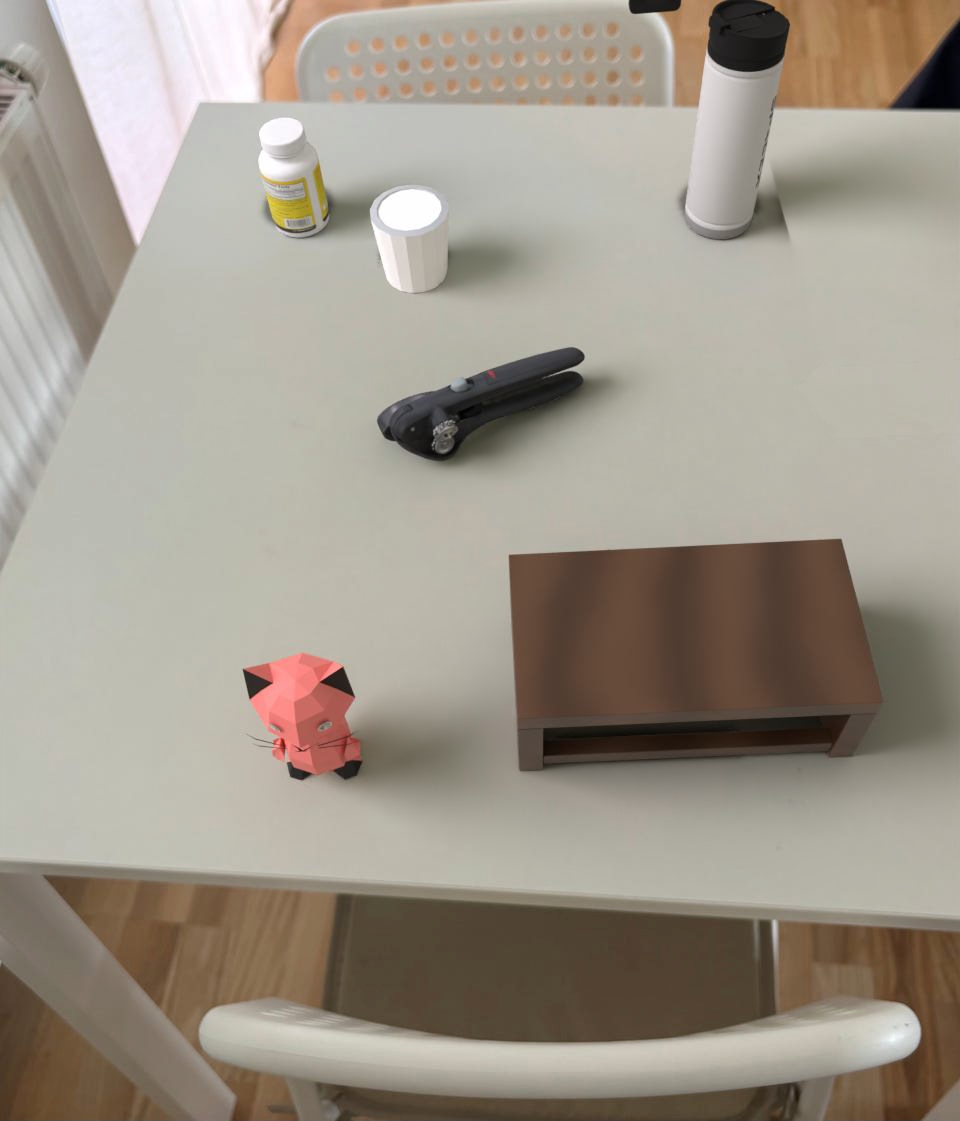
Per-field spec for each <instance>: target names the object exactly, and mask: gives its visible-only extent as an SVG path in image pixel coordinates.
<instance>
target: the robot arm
mask: <svg viewBox="0 0 960 1121" xmlns="http://www.w3.org/2000/svg"><path fill="white" fill-rule="evenodd" d="M681 6H682V0H628V9H629V12H630V13H631V14H632V15H643V14H655V13H656V14H657V13H667V12H676V11H678V10H680V8H681Z"/></svg>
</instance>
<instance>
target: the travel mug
mask: <svg viewBox="0 0 960 1121" xmlns="http://www.w3.org/2000/svg"><path fill="white" fill-rule="evenodd" d="M707 24H708V27H709V32H708V40H707V45H706V49H705V57H704V63H703V64H704V65H703V71H702V80H701V86H700V94H699V100H698V109H697V116H696V124H695V131H694V139H693V145H692V153H691V160H690V167H689V174H688V175H689V176H688V182H687V183H688V184H687V189H686V190H687V191H686V197H685V198H686V199H685V206H684V212H685V218H684V220H685V219H686V221H685V223H686V222H687V223H688V224H687V223H686V224H687V226H688V225H689V226H690V227H689V226H688V227H689V228H690V229H691V228H692V229H691V231H692V232H694V231H695V232H694V233H696V234H697V233H698V234H697V235H699V234H700V235H699V236H702V235H703V236H702V237H704V236H705V237H704V238H707V239H713V240H726V239H728V240H729V239H732V238H735V237H739V236H740V235H743V233H745V232H746V231H747V230H748V229H749V228H750V227H751V225H752V222H753V217H754V213H755V207H756V203H757V198H758V192H759V187H760V184H761V183H760V182H761V178H762V173H763V167H764V162H765V157H766V152H767V147H768V142H769V136H770V131H771V126H772V122H773V118H774V112H775V108H776V107H775V106H776V101H777V97H778V91H779V86H780V82H781V76H782V72H783V66H784V61H785V56H786V48H787V42H788V37H789V32H790V27H791V23H790V21H789V19H788V18H787V17H786V16H785V15H784V14H783V13H781V12H780V11H779V10H776V6H774V5H772V4H770V3H768V2H765V1H762V0H723V1H721V2H718V3H717V4H716V5H714V7H713V9H712V10H711V15H709V18H708V23H707Z"/></svg>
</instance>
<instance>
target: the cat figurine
mask: <svg viewBox="0 0 960 1121" xmlns="http://www.w3.org/2000/svg"><path fill="white" fill-rule="evenodd" d="M242 673H243V678H244V681H245V686H246V691H247V696H248V700H249V701H250V703H251V705H252V706H253V709H254V710H255V711H256V713H257V714H258V716H259V718H260V719H261V721H262V723H263V724H264V726H265V728H266V729H267V731H268V732H269V733H271V734H273V735H275V736H277V737H278V738H275V739H273V741H272V742H271V741H267V740H264V739H259V738H255V737H253V736H252V735H250V734H247V733H245V732H244V734H246V735H247V736H248V737H250V738H251V739H254V740H255V741H259V742H264V743H268V744H272V745H273V746H268V745H258V744H256V743H254V745H255V746H257V747H261V748H270V749H271V748H272V750H271V753H272V757H273V758H276V760H279V761H281V762H283V763H285V756H286V753H287V756H288V760H287V761H286V765H287V769H288V773H289V777H290V778H292V779H295V780H299V781H303V780H305V779H306V778H308V777H309V776H310V775H312V774H314V775H316V776H319V775H323V774H326V773H328V772H331V771H332V772H334V773H335V774H336V775H338V776H339V777H340V778H341V779H343V780H348V779H351V778H354V777H356V776H358V774H359V771H360V769H361V766H362V764H363V759H362V756H361V744H362V743H361V742H360V739H358V738H356V737H353V736H352V735H354V734H355V733H357V732H358V730H356V731H354V732H351V729H350V726H349V723H348V722H347V718H346V714H347V712H348V710H349V709H350V707H351V705H352V704H353V702H354V701H355V699H356V695H355V693H354V690H353V687H352V685H351V682H350V680H349V677H348V675H347V674H348V673H347V672H346V669H345V666H344V665H342V664H340V663H338V662H336V661H334V660H330V659H326V658H322V657H319V656H315V655H312V654H308V653H305V652H300V653H297V654H294V655H290V656H287V657H285V658H281V659H278V660H275V661H271V662H268V663H263V664H259V665H254V666H250V667H249V666H248V667H244V668H242Z"/></svg>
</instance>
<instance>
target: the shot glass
mask: <svg viewBox="0 0 960 1121" xmlns="http://www.w3.org/2000/svg"><path fill="white" fill-rule="evenodd" d="M369 215H370V217H369V218H370V222H371V225H372V229H373V233H374V238H375V242H376V245H377V248H378V251H379V255H380V258H381V263H382V266H383V270H384V274H385V277H386V280H387V282H388V283H389V284H390V285H391V287H393V288H394V289H396V290H398V291H400V292H402V293H409V294H419V293H427V292H429V291H431V290H433V289H435V288H437V287H438V286H440V284H442V283H443V282H444V281H445V280H446V276H447V273H448V262H449V261H448V258H449V257H448V255H449V254H448V253H449V218H450V210H449V203H448V200H447V199H446V197H445V196H444V195H443V194H442V193H441V192H440V191H438V190H436V189H434V188H432V187H430V186H426V185H419V184H405V185H399V186H398V185H397V186H395V187H392V188H390V189H388V190H385V191H383V192H382V193H381V194H379V195H378V196H377V197H376V198H375V199H374V200H373V202H372V204H371V206H370V208H369Z"/></svg>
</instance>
